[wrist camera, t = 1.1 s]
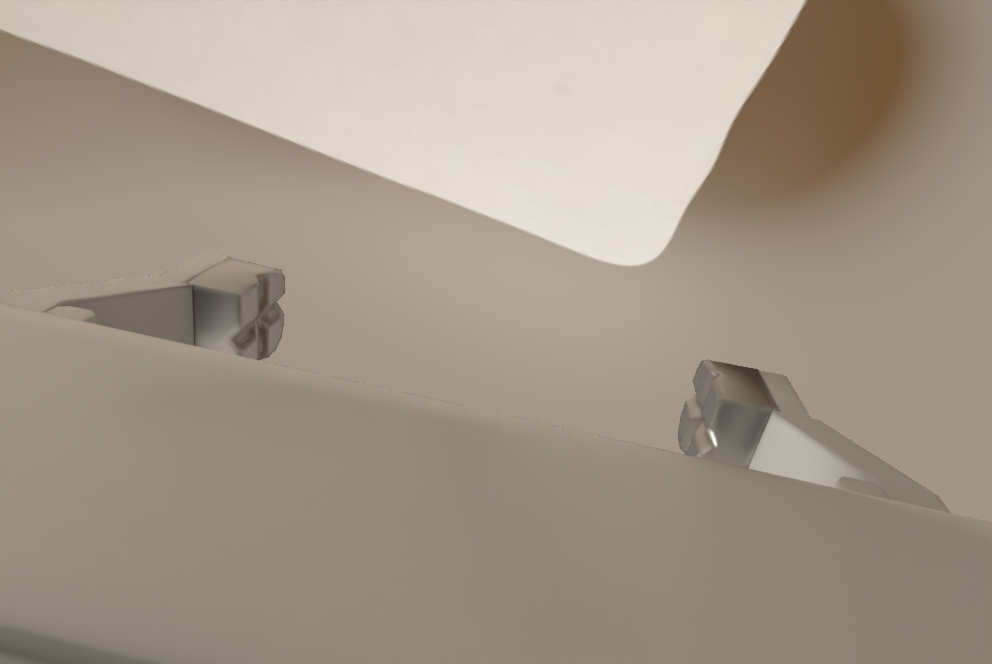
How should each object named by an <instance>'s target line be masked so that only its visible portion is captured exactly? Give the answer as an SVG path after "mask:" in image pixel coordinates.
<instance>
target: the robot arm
mask: <svg viewBox="0 0 992 664" xmlns="http://www.w3.org/2000/svg"><path fill="white" fill-rule="evenodd" d="M284 293H285V277H284V274H283V272H282V270H281V269H277V268H272V267H268V266H264V265H259V264H255V263H251V262H246V261H242V260H238V259H233V258H231V257H229V256H223V255H218V254H213V253H208V252H202V253H201V254H199V255H197V256H195V257H193V258H191V259H189V260H188V261H186V262H184V263H182V264H180V265H179V266H176V267H175V268H173V269H171V270H169V271H167V272H165V273H163V274H162V275H160V276H158V277H154V276H150V275H148V276H139V277H130V278H122V279H114V280H105V281H97V282H87V283H79V284H70V285H62V286H53V287H44V288H36V289H27V290H19V291H11V292H9V293H6V294H4V295H2V296H0V664H992V522H987V521H983V520H979V519H974V518H970V517H965V516H960V515H956V514H952V513H951V512H950V511H949V509H948V508H947V507H946V506H945V504H944V503H943V502H942V500H941V499H940V498H939V496H937V495H936V494H934V493H933V492H931V491H930V490H928V489H927V488H925V487H923V486H922V485H920V484H919V483H917V482H915V481H914V480H912V479H911V478H909V477H908V476H906V475H905V474H903V473H901V472H900V471H898V470H897V469H895V468H894V467H892V466H890V465H889V464H887V463H886V462H884V461H882V460H881V459H879V458H878V457H876V456H875V455H873V454H872V453H870V452H868V451H867V450H865V449H864V448H862V447H860V446H859V445H857V444H856V443H854V442H853V441H851V440H850V439H848V438H846V437H845V436H843V435H842V434H840V433H839V432H837V431H836V430H834V429H832V428H831V427H829V426H828V425H826V424H825V423H823V422H821V421H820V420H815V419H811V417H810V416H809V414H808V412H807V411H806V409H805V407H804V405H803V404H802V402H801V400H800V398H799V397H798V395H797V393H796V392H795V390H794V388H793V387H792V385H791V383H790V381H789V380H788V378H787V377H786V376H784V375H780V374H775V373H770V372H764V371H759V370H757V369H753V368H747V367H742V366H737V365H732V364H726V363H721V362H715V361H711V360H704V361H701V363H700V365H699V367H698V369H697V371H696V374H695V377H694V379H693V383H694V387H695V391H696V394H695V395H694V396H693V397H691V398H690V399H688V400H687V401H686V402H685V405H684V408H683V411H682V414H681V418H680V424H679V430H678V440H679V446H680V449H682V451H684V452H685V453H686V454H681V453H676V452H671V451H667V450H663V449H658V448H654V447H649V446H644V445H640V444H636V443H631V442H627V441H622V440H618V439H613V438H609V437H604V436H600V435H595V434H591V433H586V432H581V431H577V430H573V429H567V428H564V427H559V426H555V425H549V424H545V423H541V422H536V421H532V420H527V419H523V418H518V417H514V416H509V415H505V414H500V413H496V412H491V411H486V410H482V409H477V408H473V407H469V406H464V405H460V404H455V403H450V402H446V401H441V400H437V399H432V398H428V397H423V396H418V395H414V394H409V393H405V392H401V391H396V390H392V389H387V388H383V387H378V386H374V385H369V384H365V383H360V382H355V381H351V380H346V379H342V378H337V377H333V376H328V375H323V374H319V373H314V372H310V371H306V370H301V369H297V368H292V367H288V366H283V365H278V364H274V363H270V362H265V361H261V359H264V358H268V357H269V356H270V355H271V354H272V353H273V352H274V351H275V350H276V348H277V345H278V344H279V342H280V339H281V337H282V332H283V326H284V313H283V311H282V310H281V308H280V306H279V305H278V303H277V301H278V300H279V299H280V298H281V297H282V296H283V294H284Z"/></svg>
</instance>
